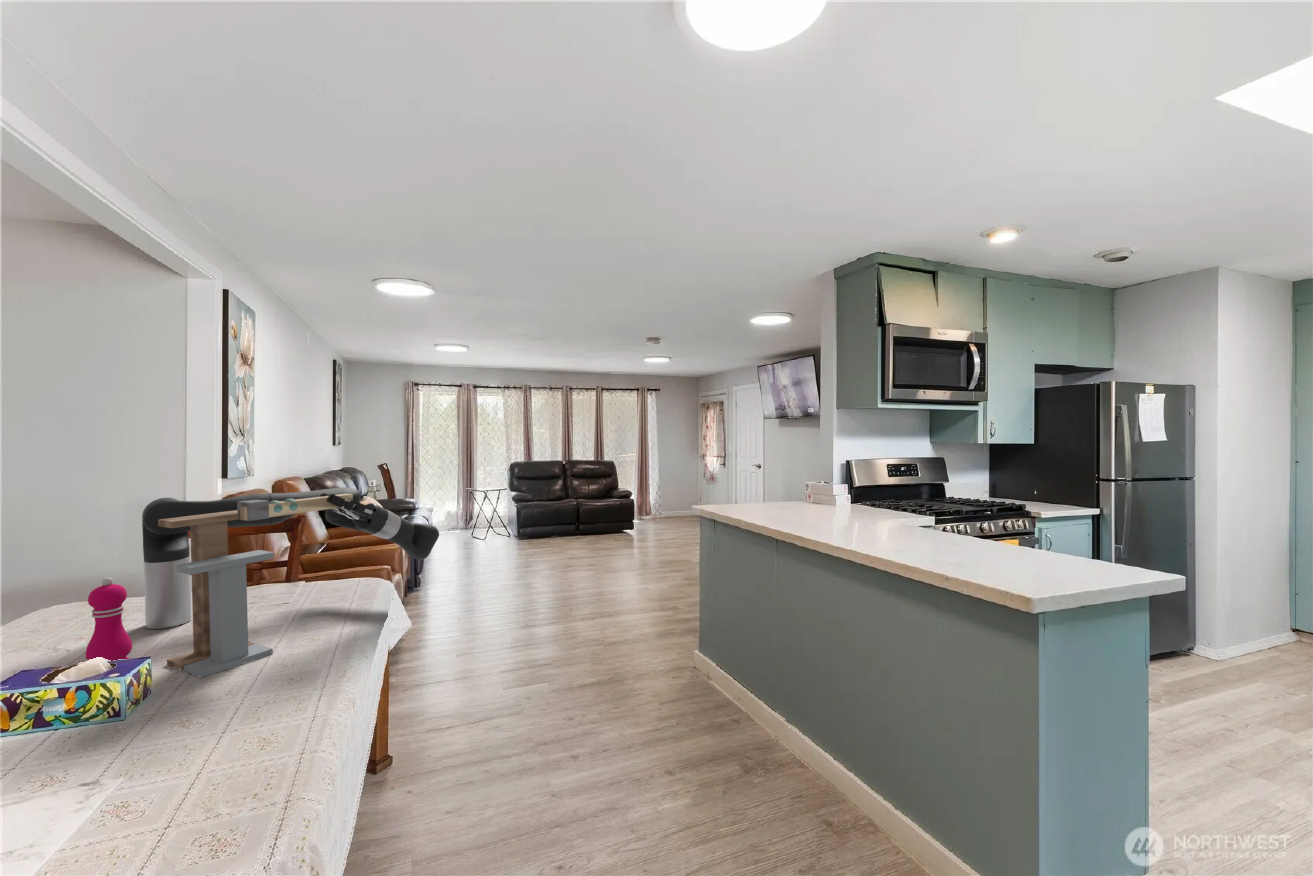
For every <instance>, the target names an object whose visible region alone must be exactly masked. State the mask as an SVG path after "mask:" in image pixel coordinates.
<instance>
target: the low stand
mask: <svg viewBox="0 0 1313 876" xmlns="http://www.w3.org/2000/svg"><path fill="white" fill-rule="evenodd" d="M272 559H275V552H273V551H267V550H261V549H257V550H252V551H246V552H240V553H235V554H234V553H233V554H230V555H229V554H228V556H223V557H217V558H212V559H206V560H201V561H195V562H191V561H190V563H184V564H179V565H176V572H180V573H185V574H189V575H190V576H192V574H197V573H203V572H208V574H209V612H210V649H211V658H207V659H204V660H201V661H198V662H195V663H191V664H188V665H185V666H184V671H185V672H184V671H183V672H184V673H186V672H188V673H187V674H189V673H191V674H193V675H192V676H194V675H195V676H194V677H196V676H199V677H200V679H201V677H202V678H204V677H203V676H205V677H208V676H211V675H214V674H217V673H220V672H222V671H226V670H228V669H232V668H234V666H235V667H238V666H240V664H241V665H243V664H242V663H244V664H246V663H245V662H247V663H250V662H252V661H251V660H253V661H255V660H254V659H256V660H258V659H262V658H264V656H265V657H267V655H268V656H270V655H273V654H274V651H273V648H272V647H269V646H266V645H263V644H259V643H257V642H256V643H255V642H254V643H255V644H252V645H249V646H248V641H249V628H248V627H249V624H248V622H249V621H248V620H249V619H248V586H247V585H248V583H247V580H248V579H247V578H248V577H247V565H248V564H251V563H252V564H253V563H257V562H262V561H267V560H268V561H269V560H272ZM261 657H262V658H261ZM249 661H250V662H249ZM216 672H217V673H216ZM213 673H214V674H213ZM191 674H190V675H191ZM199 677H198V678H199Z"/></svg>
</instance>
